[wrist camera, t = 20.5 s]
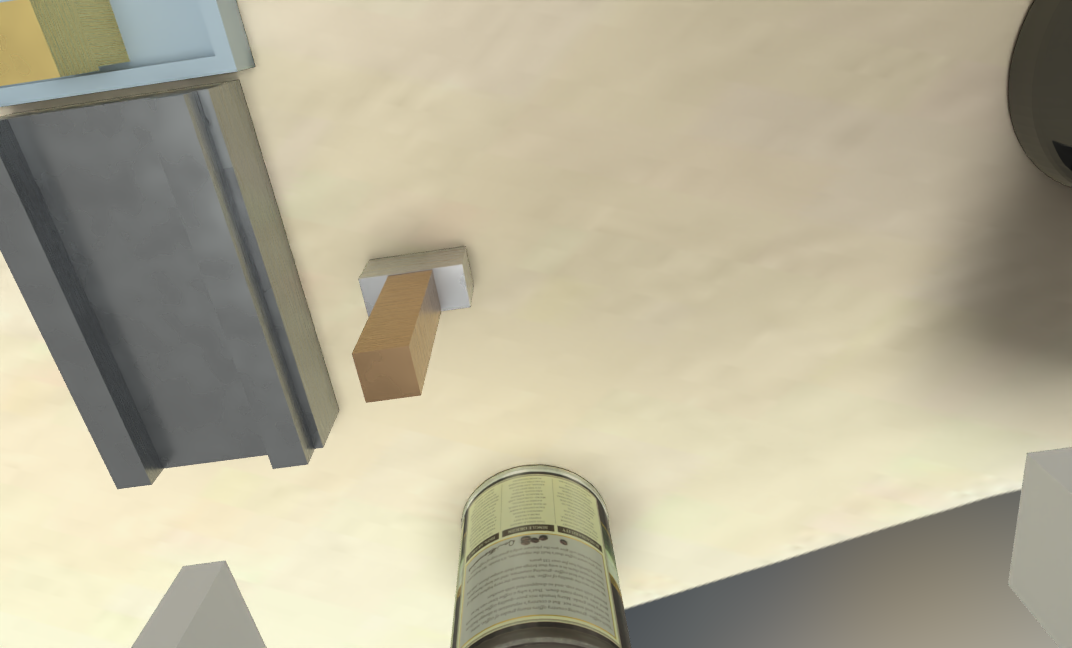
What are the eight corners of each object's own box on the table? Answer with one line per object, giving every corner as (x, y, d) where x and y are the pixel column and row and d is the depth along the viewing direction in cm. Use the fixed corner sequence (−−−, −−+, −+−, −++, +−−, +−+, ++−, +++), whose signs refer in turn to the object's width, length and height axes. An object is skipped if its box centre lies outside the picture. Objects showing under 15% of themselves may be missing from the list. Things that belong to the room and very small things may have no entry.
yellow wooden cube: (130, 61, 34) (107, -6, 33) (97, 67, 32) (70, -6, 30) (70, 68, 34) (45, 2, 33) (32, 75, 32) (3, 2, 30)
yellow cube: (71, -2, 30) (28, -3, 28) (99, 70, 32) (60, 77, 29) (5, 8, 30) (-45, 9, 28) (35, 79, 32) (-10, 87, 29)
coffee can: (637, 534, 49) (680, 723, 36) (519, 600, 51) (520, 799, 39) (553, 436, 45) (568, 608, 32) (430, 512, 48) (398, 700, 35)
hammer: (465, 246, 40) (446, 339, 29) (473, 286, 41) (458, 391, 30) (369, 259, 40) (314, 357, 29) (379, 299, 41) (330, 408, 30)
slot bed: (239, 79, 36) (193, 92, 31) (339, 410, 44) (316, 463, 39) (11, 113, 36) (-70, 132, 31) (154, 435, 44) (108, 490, 39)
